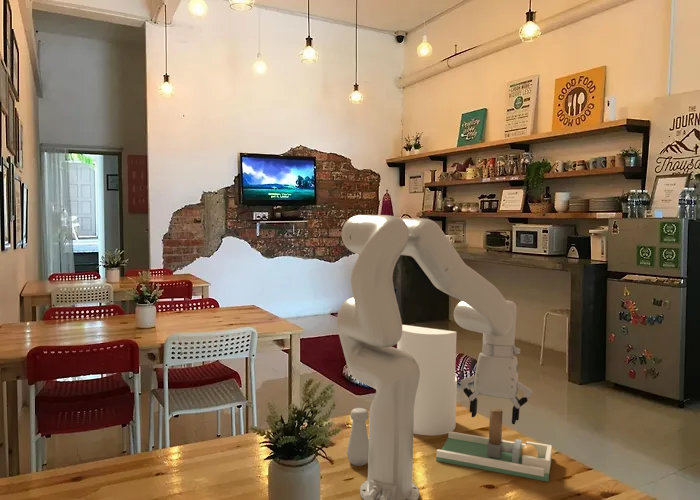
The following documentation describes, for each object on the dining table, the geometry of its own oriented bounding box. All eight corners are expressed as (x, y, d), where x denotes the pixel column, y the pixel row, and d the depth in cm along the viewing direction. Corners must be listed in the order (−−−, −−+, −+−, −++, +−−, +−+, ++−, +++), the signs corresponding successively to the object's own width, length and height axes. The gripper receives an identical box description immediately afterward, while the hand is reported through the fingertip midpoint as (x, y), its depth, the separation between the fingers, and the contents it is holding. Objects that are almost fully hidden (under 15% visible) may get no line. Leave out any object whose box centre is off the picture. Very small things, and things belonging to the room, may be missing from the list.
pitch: (548, 481, 129) (548, 464, 129) (436, 460, 139) (436, 444, 139) (551, 457, 142) (552, 442, 141) (449, 440, 152) (449, 425, 151)
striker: (518, 463, 135) (520, 418, 134) (486, 457, 138) (488, 413, 137) (521, 453, 141) (522, 410, 140) (490, 448, 144) (491, 406, 143)
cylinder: (441, 440, 152) (444, 337, 150) (384, 426, 161) (387, 329, 159) (464, 421, 166) (467, 326, 165) (411, 409, 175) (413, 320, 174)
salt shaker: (368, 468, 134) (369, 414, 133) (344, 466, 135) (345, 412, 134) (372, 458, 139) (373, 406, 139) (349, 456, 140) (350, 404, 140)
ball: (516, 451, 136) (525, 467, 136) (531, 445, 135) (540, 461, 134) (518, 445, 140) (526, 460, 139) (533, 439, 138) (541, 454, 138)
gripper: (536, 352, 139) (531, 420, 139) (465, 343, 145) (461, 409, 146) (533, 358, 132) (528, 430, 132) (459, 348, 138) (455, 417, 139)
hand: (493, 419), depth 139 cm, fingers open, 9 cm apart
